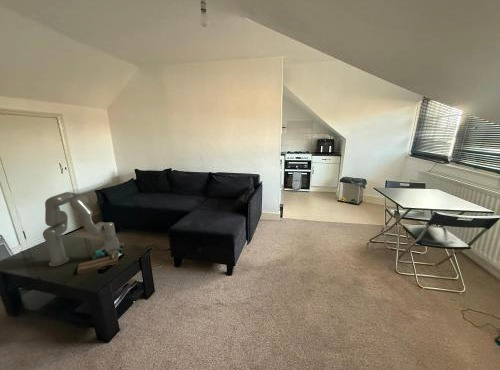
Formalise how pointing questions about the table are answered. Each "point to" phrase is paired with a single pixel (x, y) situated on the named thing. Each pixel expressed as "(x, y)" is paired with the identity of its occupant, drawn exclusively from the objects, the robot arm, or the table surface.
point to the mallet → (113, 253)
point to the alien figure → (102, 253)
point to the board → (97, 264)
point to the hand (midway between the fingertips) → (113, 254)
